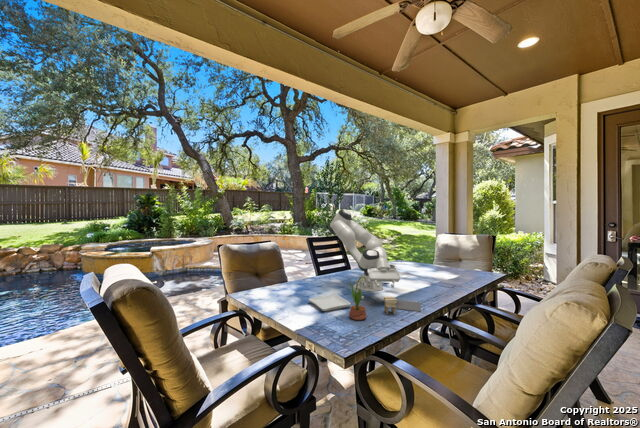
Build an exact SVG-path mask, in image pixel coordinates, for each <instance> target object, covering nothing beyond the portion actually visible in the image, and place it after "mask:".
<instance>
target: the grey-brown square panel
mask: <svg viewBox="0 0 640 428" xmlns="http://www.w3.org/2000/svg"><path fill="white" fill-rule="evenodd" d="M396 300H397V303H396V308H395V310H402V311H409V312H418V313H421V312H422V307H421V302H418V301H409V300H401V299H396Z"/></svg>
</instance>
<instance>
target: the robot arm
mask: <svg viewBox="0 0 640 428" xmlns="http://www.w3.org/2000/svg"><path fill="white" fill-rule="evenodd" d="M328 232H329V233H331V234H332V235H334V236H337V237H338V239H339V240H340V241H341V242H342V243H343V245H344V247H345V248H346V250H347V252H348V253H349V254H350V256H351V257H352V259H354V261H355V262H356V264H357V265H358V269H359V270H361V271H362V272H363V275H362V276H361V275H360V277H365V278H366V281H365V279H364V278H363V279H360V280H361V281H362V280H363V284H362V285H361V284H360V285H358V287H357V289H359V287H360V286H361V291H366V292H372V293H373V292H378V291H382V290H383V289H384V288H383V284H382V283H383V282H385V283H386V282H388V283H391V285H390V286H391V288H392V289H394V288H395V283H398V282H399V281H400V280H401V276H400V272H399V271H398V269H397V265H395V264H391V263H389V261H388V260H389V259H388V254H387V250H386V249H385V248H384V247H383V242H382V240H381V239H379V238H378V237H376V236H375V235H374V234H373V233H371V232H369V231H368V230H367V229H365V228H364V227H363V226H361V224H359V223H358V222H356V221H354V220H353V218H352V213H351V212H350V211H349V210H347V209H345V208H341V209H340V210H338V212H337V213H336V214H335V216H334V217H333V219H332V220H331V222H330V224H329V225H328ZM356 242H358V243H360V244H361V245H363V246H365V249H364V250H363V251H362V253H361V252H360V251H359V249H358V248H357V245H356ZM368 279H369V280H370V282H368V281H367V280H368ZM360 280H359V283H360V282H361V281H360ZM357 281H358V279H357ZM357 281H356V282H357ZM364 283H366V284H367V285H366V286H363V285H364ZM356 285H357V283H355V284H354V285H353V288H354V290H356Z"/></svg>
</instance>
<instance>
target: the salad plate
mask: <svg viewBox="0 0 640 428" xmlns="http://www.w3.org/2000/svg"><path fill="white" fill-rule="evenodd" d="M308 302H310V303H311V304H312V305H315V306H316V307H317V308H318V309H320V310H321V311H323V312H328V311H334V310H339V309H344V308H348V307H349V306H350V307H351V306H352V303H351V302H350V301H348V300H346V299H345V298H343V297H341V296H340V295H338V294H337V293H334V294H328V295H323V296H317V297H311V298H308Z"/></svg>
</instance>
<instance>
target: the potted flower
mask: <svg viewBox="0 0 640 428" xmlns="http://www.w3.org/2000/svg"><path fill="white" fill-rule="evenodd" d="M361 276H363V275H360V277H359V278H358V279H357V280H358V281H356V284H357V285H356V289H354V285H353V283H352V281H350V291H351V295H352V298H353V302H354V304H355V305H350V310H349V312H348V316H349V317H350V319H352V320H355V321H362V320H364V319H366V317H367V312H366V307H365V306H363V305H360V302H361V301H362V300H364V299H365V296H364V295H363V292H362V290H361V286H360V287H359V289H357V287H358V285H360V284H361V285H362V284H363V280H362V281H361V280H360V279H363V278H364V279H365V281H366V278H365V277H361ZM359 280H360V281H361V282H360V283H359ZM367 281H368V282H370V280H369V279H368V280H367ZM366 285H367V284H366V283H364V285H363V286H366Z"/></svg>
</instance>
